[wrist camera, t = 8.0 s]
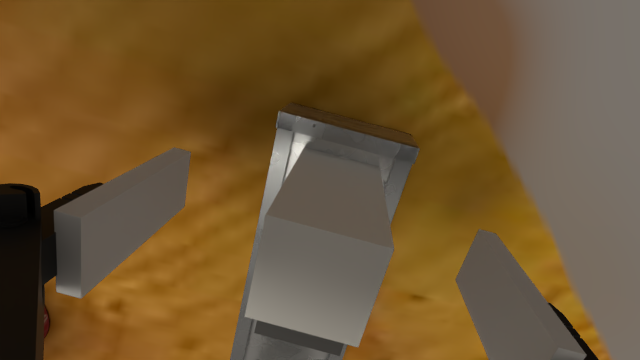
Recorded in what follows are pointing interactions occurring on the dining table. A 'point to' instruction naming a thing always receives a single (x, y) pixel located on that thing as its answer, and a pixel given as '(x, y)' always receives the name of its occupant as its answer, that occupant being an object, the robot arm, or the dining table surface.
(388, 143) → the rail
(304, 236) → the small grey block
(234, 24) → the dining table surface
